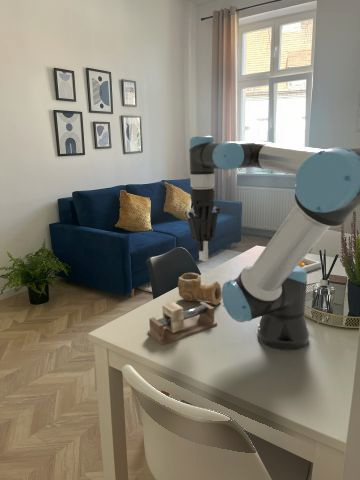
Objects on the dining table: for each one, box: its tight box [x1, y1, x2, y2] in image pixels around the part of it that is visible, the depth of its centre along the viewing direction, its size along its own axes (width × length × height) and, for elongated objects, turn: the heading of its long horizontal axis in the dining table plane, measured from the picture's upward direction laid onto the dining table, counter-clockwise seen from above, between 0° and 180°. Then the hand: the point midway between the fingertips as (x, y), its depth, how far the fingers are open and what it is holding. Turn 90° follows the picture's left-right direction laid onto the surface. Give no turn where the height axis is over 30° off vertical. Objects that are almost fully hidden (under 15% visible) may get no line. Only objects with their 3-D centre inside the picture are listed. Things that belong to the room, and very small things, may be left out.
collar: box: [161, 301, 184, 333], centre depth 114 cm, size 4×6×7 cm
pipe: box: [177, 272, 222, 306], centre depth 136 cm, size 9×16×10 cm, turn 70°
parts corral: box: [302, 257, 322, 273], centre depth 173 cm, size 16×16×2 cm
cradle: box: [147, 301, 218, 346], centre depth 117 cm, size 21×9×6 cm, turn 124°
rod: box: [157, 305, 207, 326], centre depth 116 cm, size 18×3×3 cm, turn 124°
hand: (203, 259), depth 119 cm, fingers closed
